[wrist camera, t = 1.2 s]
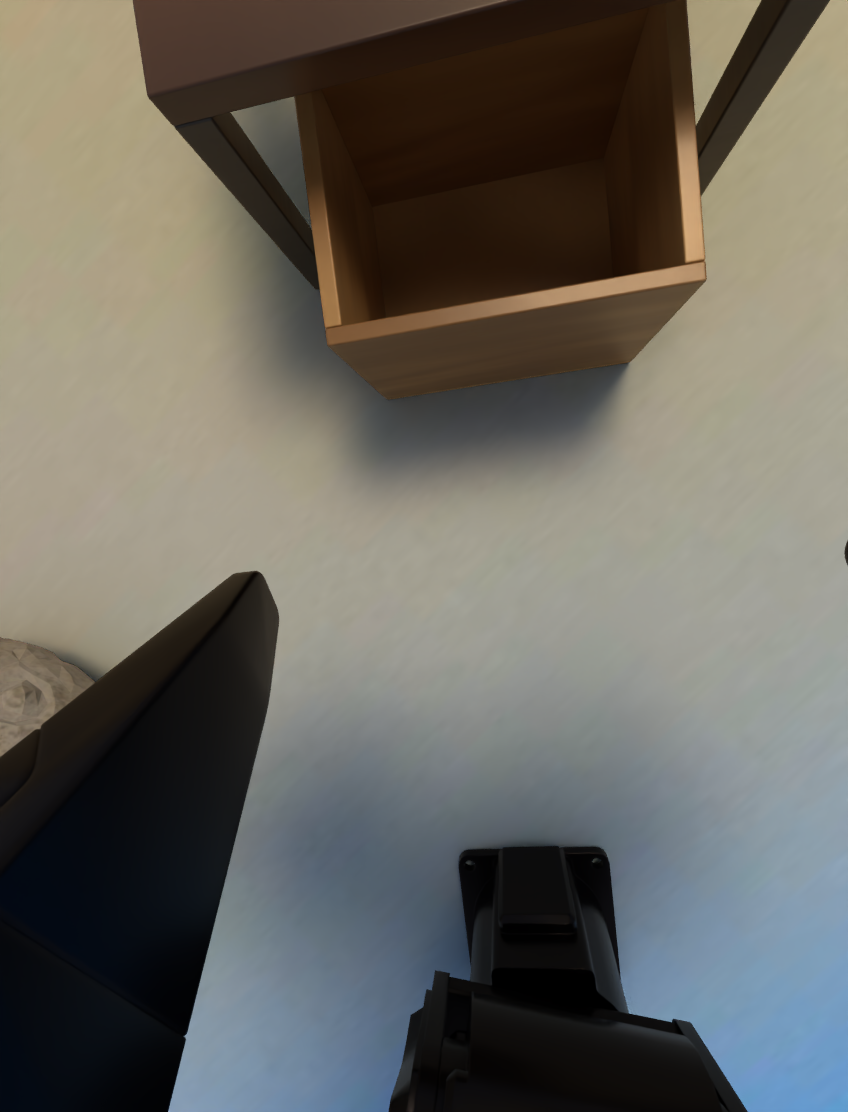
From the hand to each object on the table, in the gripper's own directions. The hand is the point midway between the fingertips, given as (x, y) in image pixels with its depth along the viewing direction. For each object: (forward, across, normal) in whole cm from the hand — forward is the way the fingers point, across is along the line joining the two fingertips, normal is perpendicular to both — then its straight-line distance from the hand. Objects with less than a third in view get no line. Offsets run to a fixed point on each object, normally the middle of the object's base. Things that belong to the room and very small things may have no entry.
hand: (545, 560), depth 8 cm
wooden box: (+18, -1, -1) cm, 18 cm away
